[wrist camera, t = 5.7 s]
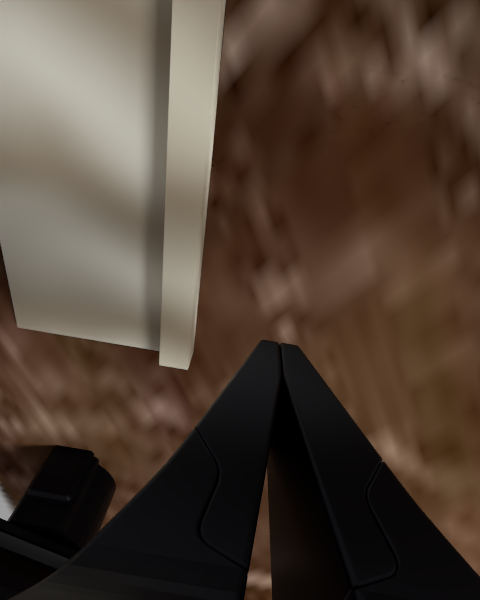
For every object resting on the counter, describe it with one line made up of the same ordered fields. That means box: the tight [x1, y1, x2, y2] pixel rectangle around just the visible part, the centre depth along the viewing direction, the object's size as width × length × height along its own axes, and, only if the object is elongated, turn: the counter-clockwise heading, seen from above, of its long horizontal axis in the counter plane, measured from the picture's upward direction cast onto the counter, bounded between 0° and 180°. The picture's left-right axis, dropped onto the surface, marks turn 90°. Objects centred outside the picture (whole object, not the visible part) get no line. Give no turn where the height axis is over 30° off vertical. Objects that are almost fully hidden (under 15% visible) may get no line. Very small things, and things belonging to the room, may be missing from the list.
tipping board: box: [0, 0, 227, 370], centre depth 16 cm, size 16×10×2 cm, turn 172°
